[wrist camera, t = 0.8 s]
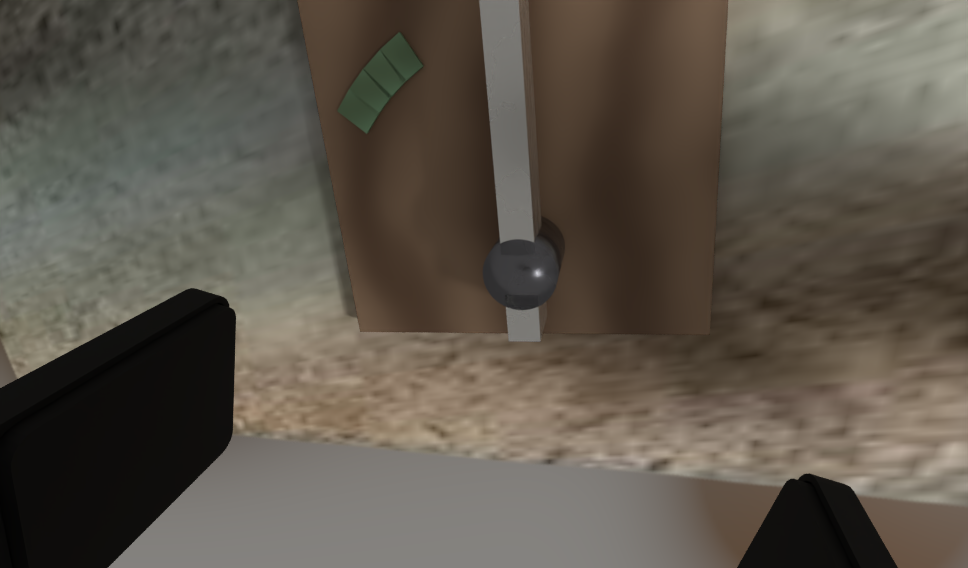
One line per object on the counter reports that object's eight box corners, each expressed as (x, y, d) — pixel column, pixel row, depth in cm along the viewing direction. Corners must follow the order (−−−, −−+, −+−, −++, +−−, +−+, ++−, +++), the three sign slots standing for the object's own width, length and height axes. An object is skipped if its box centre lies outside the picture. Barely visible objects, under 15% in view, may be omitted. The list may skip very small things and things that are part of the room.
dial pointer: (567, 305, 31) (560, 341, 27) (505, 305, 32) (489, 340, 28) (552, -49, 25) (540, -72, 21) (475, -37, 26) (449, -57, 22)
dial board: (730, -160, 24) (738, -175, 22) (705, 323, 32) (710, 336, 30) (296, -80, 29) (278, -89, 27) (369, 321, 37) (359, 333, 35)
